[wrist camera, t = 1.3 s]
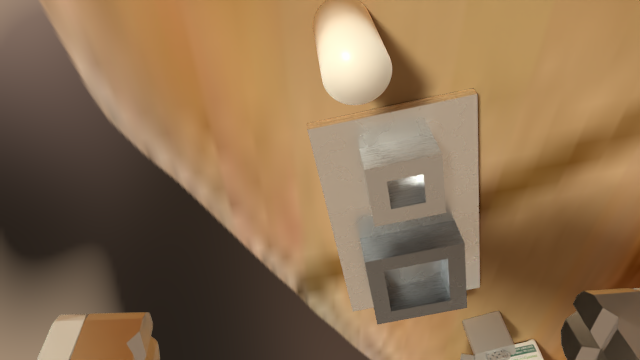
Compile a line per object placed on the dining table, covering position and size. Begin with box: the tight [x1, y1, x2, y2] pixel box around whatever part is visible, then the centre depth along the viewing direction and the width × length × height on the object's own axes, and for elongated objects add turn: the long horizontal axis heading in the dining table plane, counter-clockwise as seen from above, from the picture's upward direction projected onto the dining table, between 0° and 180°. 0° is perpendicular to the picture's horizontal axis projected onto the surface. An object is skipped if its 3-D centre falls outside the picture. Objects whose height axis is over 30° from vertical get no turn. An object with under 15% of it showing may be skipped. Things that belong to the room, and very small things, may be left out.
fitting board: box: [307, 88, 480, 324], centre depth 44 cm, size 13×22×4 cm, turn 11°
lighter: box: [460, 311, 516, 360], centre depth 52 cm, size 7×2×8 cm, turn 109°
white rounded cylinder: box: [313, 0, 392, 105], centre depth 32 cm, size 4×4×8 cm
